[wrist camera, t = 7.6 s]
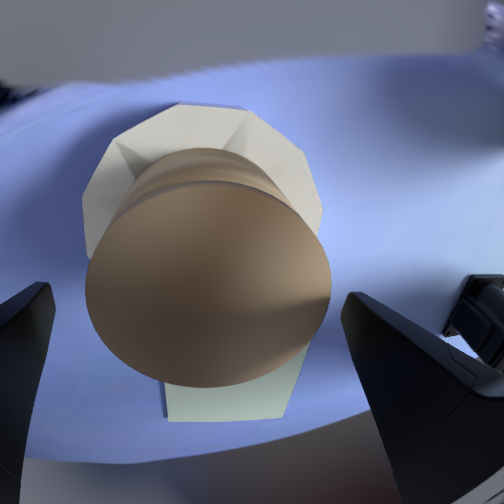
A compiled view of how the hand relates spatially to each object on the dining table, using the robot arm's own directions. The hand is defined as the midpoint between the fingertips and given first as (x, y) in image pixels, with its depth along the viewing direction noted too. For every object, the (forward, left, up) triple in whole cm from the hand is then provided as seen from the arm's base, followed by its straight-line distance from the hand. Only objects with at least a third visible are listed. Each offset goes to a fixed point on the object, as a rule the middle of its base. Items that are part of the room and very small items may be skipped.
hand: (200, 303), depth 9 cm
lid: (0, 0, -5) cm, 5 cm away
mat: (-3, +13, -8) cm, 16 cm away
